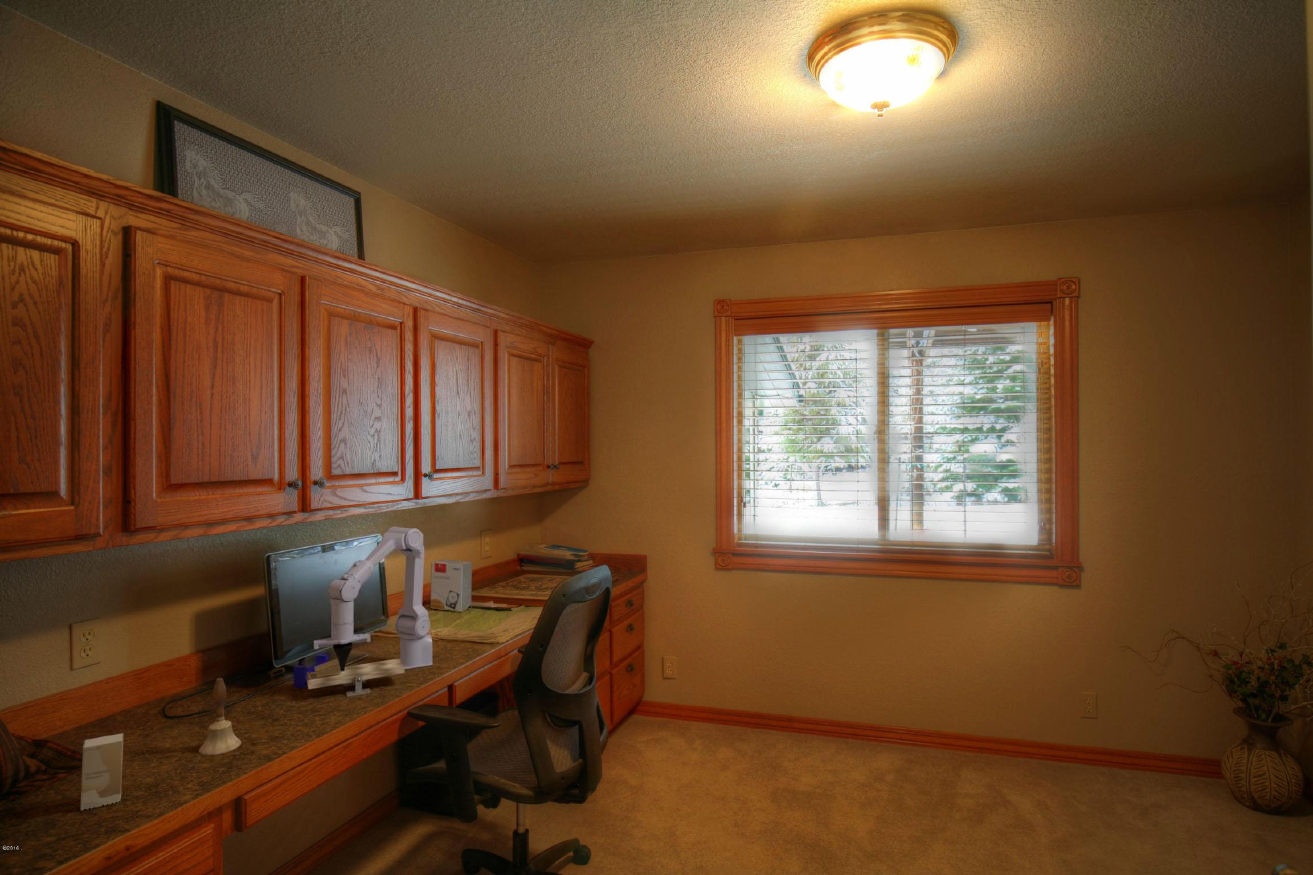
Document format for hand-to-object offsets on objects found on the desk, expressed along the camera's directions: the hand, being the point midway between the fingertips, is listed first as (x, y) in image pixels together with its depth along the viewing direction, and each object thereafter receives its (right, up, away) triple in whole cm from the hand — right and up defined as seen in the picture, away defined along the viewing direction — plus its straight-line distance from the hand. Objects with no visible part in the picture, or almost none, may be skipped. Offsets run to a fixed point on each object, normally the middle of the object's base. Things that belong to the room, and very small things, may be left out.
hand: (342, 670), depth 196 cm
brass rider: (-3, -1, -2) cm, 3 cm away
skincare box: (-20, -6, -60) cm, 64 cm away
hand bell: (-12, -6, -36) cm, 38 cm away
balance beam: (+3, -2, +2) cm, 4 cm away
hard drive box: (+3, -6, +94) cm, 94 cm away
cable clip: (-14, -6, +9) cm, 17 cm away
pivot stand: (+3, -6, +2) cm, 7 cm away
